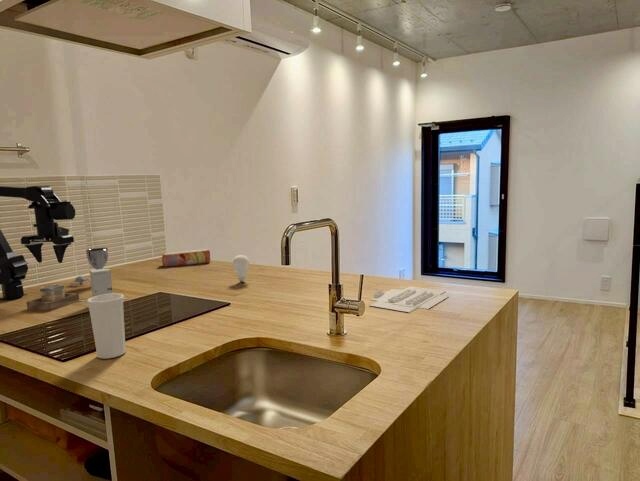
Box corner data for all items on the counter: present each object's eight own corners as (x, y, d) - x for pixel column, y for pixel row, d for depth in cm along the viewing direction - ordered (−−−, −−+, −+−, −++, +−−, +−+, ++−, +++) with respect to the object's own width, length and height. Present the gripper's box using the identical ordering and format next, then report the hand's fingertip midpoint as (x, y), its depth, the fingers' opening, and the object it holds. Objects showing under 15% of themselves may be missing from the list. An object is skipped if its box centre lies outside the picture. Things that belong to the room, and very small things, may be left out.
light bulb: (247, 284, 176) (245, 256, 174) (231, 284, 177) (229, 256, 175) (252, 280, 182) (251, 253, 180) (237, 280, 183) (235, 253, 181)
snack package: (162, 268, 216) (161, 253, 215) (163, 265, 223) (162, 251, 222) (210, 263, 222) (209, 249, 221) (210, 261, 229) (209, 247, 228)
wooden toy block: (41, 305, 154) (39, 288, 153) (54, 300, 159) (52, 284, 158) (53, 305, 153) (51, 288, 152) (65, 301, 158) (63, 284, 157)
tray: (455, 294, 152) (455, 284, 151) (420, 320, 130) (419, 308, 130) (400, 287, 164) (400, 277, 164) (360, 310, 142) (359, 298, 142)
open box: (27, 309, 152) (26, 302, 151) (56, 299, 163) (55, 292, 163) (51, 310, 149) (50, 303, 149) (79, 300, 161) (78, 293, 160)
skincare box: (94, 307, 151) (90, 272, 149) (92, 304, 154) (89, 270, 153) (114, 304, 154) (110, 269, 152) (112, 301, 158) (108, 267, 156)
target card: (69, 300, 161) (69, 299, 161) (88, 294, 170) (87, 293, 170) (82, 301, 160) (82, 300, 159) (101, 294, 168) (101, 293, 168)
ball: (73, 285, 183) (72, 276, 183) (80, 283, 186) (79, 275, 186) (81, 285, 182) (80, 277, 182) (87, 283, 185) (86, 275, 185)
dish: (67, 287, 182) (66, 282, 182) (80, 283, 189) (79, 278, 188) (81, 288, 180) (80, 282, 180) (94, 283, 187) (93, 278, 186)
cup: (96, 364, 103) (89, 304, 101) (90, 354, 110) (83, 297, 108) (133, 355, 108) (127, 297, 106) (125, 345, 114) (119, 291, 112)
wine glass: (85, 287, 180) (81, 250, 178) (100, 282, 188) (96, 247, 186) (101, 288, 178) (96, 251, 176) (116, 283, 185) (112, 247, 183)
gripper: (83, 217, 168) (87, 258, 170) (43, 218, 173) (48, 258, 175) (58, 221, 158) (64, 264, 160) (16, 221, 162) (22, 264, 165)
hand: (50, 262), depth 165 cm, fingers open, 9 cm apart
